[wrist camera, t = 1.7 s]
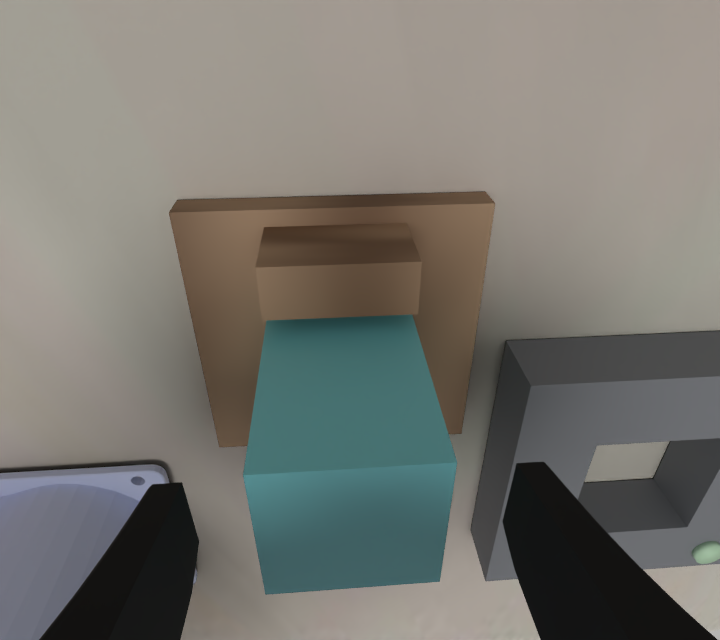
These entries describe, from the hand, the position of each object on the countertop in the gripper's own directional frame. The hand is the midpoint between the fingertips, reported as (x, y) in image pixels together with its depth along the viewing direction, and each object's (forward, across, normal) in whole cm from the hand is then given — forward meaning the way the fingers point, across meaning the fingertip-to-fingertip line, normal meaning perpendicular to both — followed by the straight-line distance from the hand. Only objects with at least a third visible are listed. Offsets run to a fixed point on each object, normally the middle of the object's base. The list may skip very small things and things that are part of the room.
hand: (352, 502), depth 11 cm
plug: (+6, 0, 0) cm, 6 cm away
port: (+7, -11, +7) cm, 15 cm away
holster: (+7, 0, 0) cm, 7 cm away
